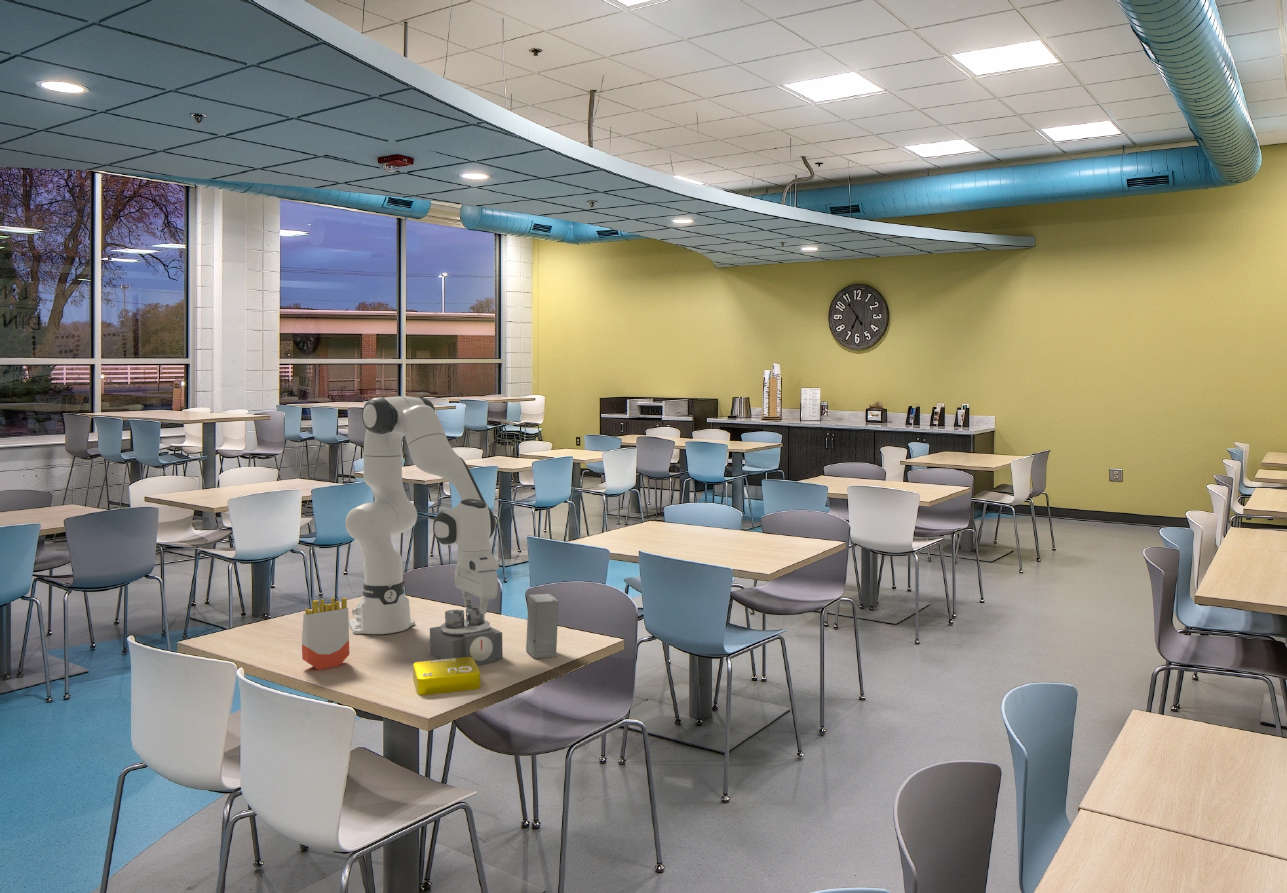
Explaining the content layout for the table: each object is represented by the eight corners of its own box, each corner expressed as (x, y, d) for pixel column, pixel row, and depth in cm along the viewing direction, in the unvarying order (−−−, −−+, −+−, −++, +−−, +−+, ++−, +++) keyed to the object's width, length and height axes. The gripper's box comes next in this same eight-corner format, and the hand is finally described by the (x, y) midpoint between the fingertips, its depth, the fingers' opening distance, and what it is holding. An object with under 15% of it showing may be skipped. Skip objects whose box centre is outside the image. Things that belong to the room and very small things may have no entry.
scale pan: (433, 627, 242) (433, 623, 242) (477, 620, 250) (477, 616, 250) (452, 638, 232) (452, 633, 232) (498, 630, 239) (497, 626, 239)
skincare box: (525, 651, 245) (524, 594, 244) (550, 648, 248) (549, 592, 247) (534, 660, 237) (533, 601, 236) (559, 656, 240) (559, 598, 239)
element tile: (472, 672, 228) (472, 654, 228) (481, 690, 214) (481, 671, 213) (412, 678, 223) (411, 660, 223) (417, 697, 209) (417, 677, 209)
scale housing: (430, 653, 244) (429, 624, 243) (477, 644, 252) (477, 616, 251) (456, 669, 229) (456, 638, 228) (506, 660, 237) (505, 630, 236)
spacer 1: (442, 625, 240) (442, 611, 240) (459, 623, 243) (459, 608, 242) (449, 629, 236) (449, 614, 235) (467, 627, 238) (467, 611, 238)
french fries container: (302, 668, 231) (300, 599, 230) (343, 660, 238) (341, 593, 237) (308, 672, 228) (306, 602, 227) (349, 663, 235) (348, 596, 234)
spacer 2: (463, 622, 243) (462, 608, 243) (479, 619, 246) (479, 605, 246) (471, 626, 239) (470, 611, 239) (487, 623, 242) (487, 608, 242)
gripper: (448, 555, 248) (449, 604, 249) (479, 566, 232) (480, 619, 232) (469, 553, 252) (470, 601, 253) (501, 563, 235) (502, 615, 236)
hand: (475, 610), depth 242 cm, fingers open, 8 cm apart
